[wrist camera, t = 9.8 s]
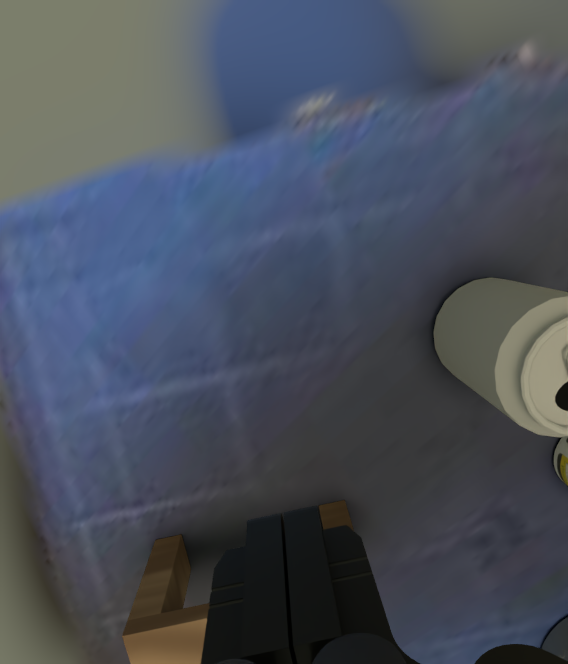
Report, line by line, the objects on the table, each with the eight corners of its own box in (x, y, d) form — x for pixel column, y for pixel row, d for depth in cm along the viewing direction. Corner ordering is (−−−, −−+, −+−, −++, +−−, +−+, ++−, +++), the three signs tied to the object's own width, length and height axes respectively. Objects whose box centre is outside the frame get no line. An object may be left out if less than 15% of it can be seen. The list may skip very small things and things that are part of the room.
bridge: (155, 539, 38) (122, 636, 29) (344, 499, 38) (369, 583, 29) (165, 574, 39) (135, 679, 30) (351, 535, 39) (378, 628, 30)
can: (444, 393, 37) (530, 471, 25) (416, 296, 35) (494, 329, 23) (543, 361, 37) (677, 423, 25) (520, 261, 35) (650, 277, 23)
